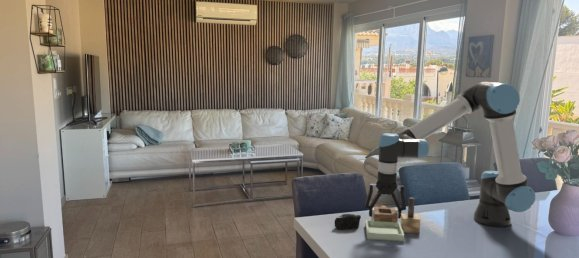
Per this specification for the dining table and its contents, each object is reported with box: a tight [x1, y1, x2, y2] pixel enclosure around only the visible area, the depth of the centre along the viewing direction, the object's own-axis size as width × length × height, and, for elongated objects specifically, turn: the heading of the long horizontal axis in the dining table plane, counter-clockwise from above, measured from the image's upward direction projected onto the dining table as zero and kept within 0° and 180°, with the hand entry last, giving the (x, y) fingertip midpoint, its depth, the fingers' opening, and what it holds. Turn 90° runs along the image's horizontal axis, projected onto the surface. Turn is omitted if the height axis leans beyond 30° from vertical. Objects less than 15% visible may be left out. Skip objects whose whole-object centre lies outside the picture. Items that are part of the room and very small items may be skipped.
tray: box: [364, 219, 405, 243], centre depth 173 cm, size 14×14×3 cm
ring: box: [373, 205, 399, 223], centre depth 172 cm, size 11×9×3 cm
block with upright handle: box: [400, 197, 421, 234], centre depth 176 cm, size 7×6×14 cm
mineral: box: [334, 213, 362, 230], centre depth 179 cm, size 10×9×6 cm
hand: (384, 224), depth 171 cm, fingers closed on ring, 9 cm apart
